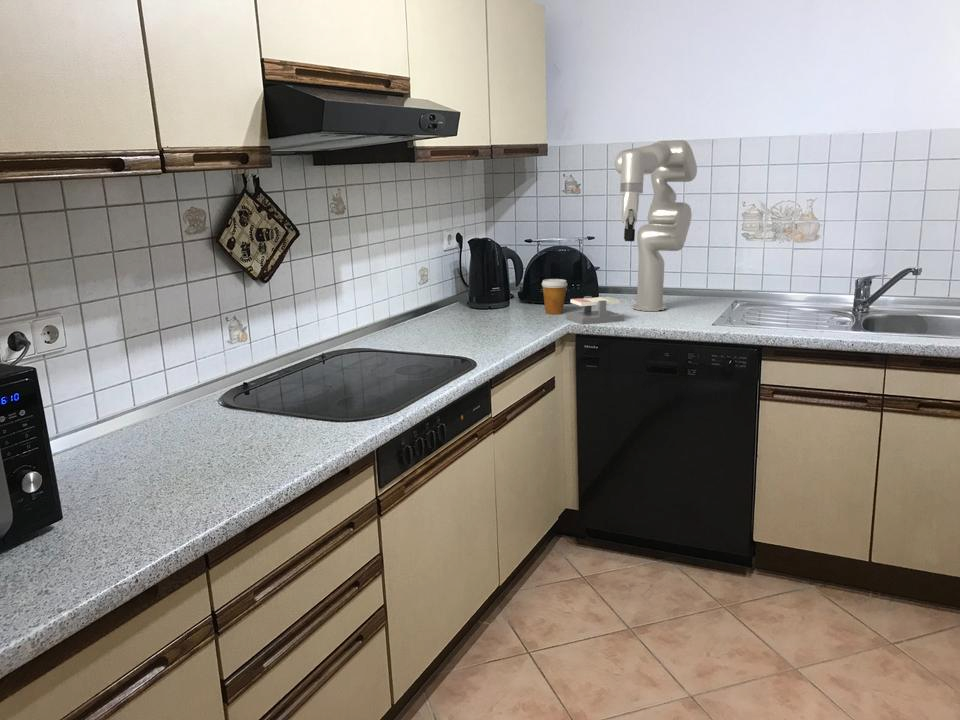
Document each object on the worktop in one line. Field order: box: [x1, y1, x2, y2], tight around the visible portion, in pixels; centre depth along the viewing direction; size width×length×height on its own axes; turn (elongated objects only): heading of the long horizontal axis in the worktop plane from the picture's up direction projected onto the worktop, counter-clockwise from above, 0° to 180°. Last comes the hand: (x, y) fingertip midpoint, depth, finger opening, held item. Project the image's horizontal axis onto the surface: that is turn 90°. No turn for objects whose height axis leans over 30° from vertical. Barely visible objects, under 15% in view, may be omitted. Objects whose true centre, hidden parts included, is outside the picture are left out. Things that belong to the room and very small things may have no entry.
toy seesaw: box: [565, 295, 624, 325], centre depth 273 cm, size 12×16×8 cm
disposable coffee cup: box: [541, 278, 568, 315], centre depth 287 cm, size 10×10×12 cm
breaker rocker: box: [569, 296, 621, 307], centre depth 273 cm, size 8×15×1 cm, turn 111°
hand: (629, 240), depth 266 cm, fingers open, 9 cm apart
